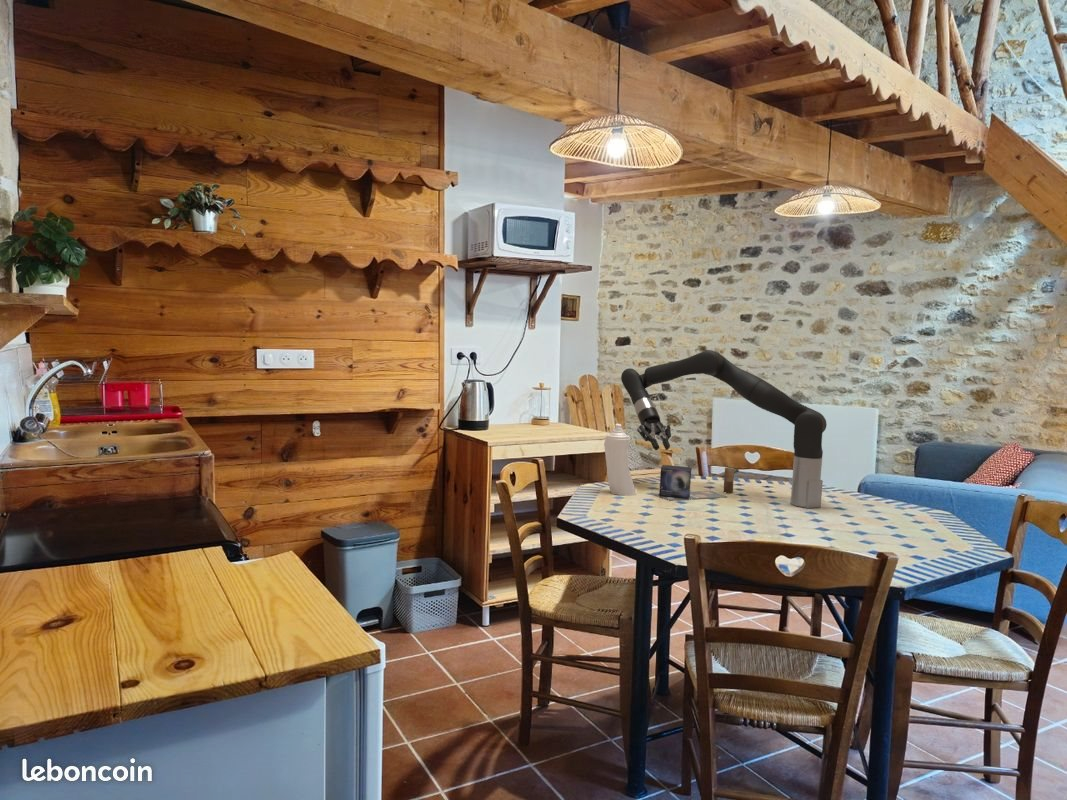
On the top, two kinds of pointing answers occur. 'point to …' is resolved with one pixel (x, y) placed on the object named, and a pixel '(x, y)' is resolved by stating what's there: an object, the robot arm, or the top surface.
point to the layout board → (696, 495)
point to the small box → (675, 481)
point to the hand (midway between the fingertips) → (662, 448)
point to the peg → (728, 480)
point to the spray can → (618, 462)
